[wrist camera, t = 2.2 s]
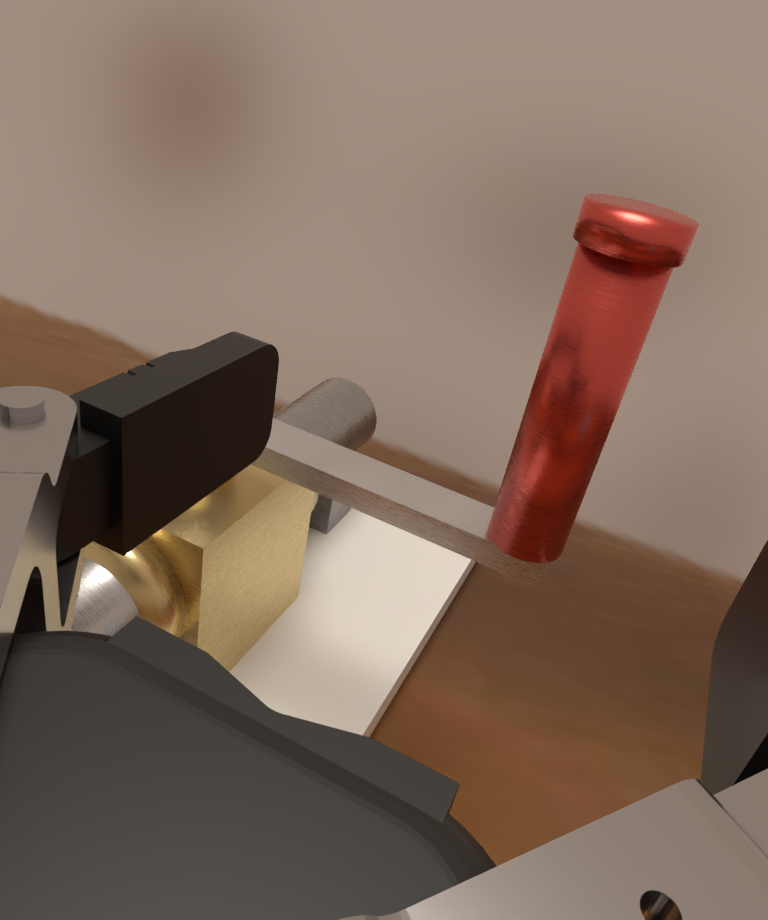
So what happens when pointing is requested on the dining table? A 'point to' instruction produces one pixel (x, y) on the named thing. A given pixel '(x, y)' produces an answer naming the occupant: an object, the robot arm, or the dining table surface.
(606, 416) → the lever
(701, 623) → the dining table surface
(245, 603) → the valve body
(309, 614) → the mounting board
